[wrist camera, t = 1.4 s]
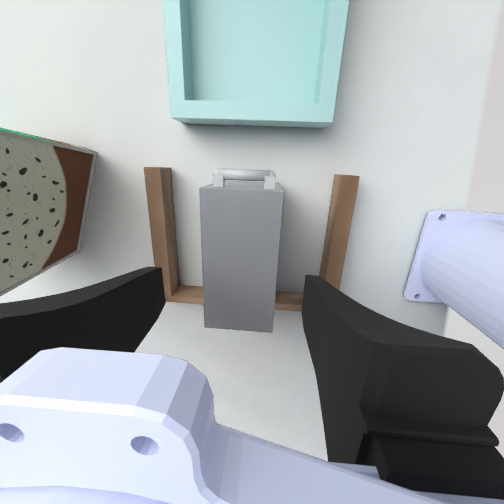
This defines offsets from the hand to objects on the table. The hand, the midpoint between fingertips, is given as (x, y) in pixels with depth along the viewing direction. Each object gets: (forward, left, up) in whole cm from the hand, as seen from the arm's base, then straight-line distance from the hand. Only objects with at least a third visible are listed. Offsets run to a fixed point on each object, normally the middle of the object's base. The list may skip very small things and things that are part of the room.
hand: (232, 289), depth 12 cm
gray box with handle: (0, 0, -10) cm, 10 cm away
